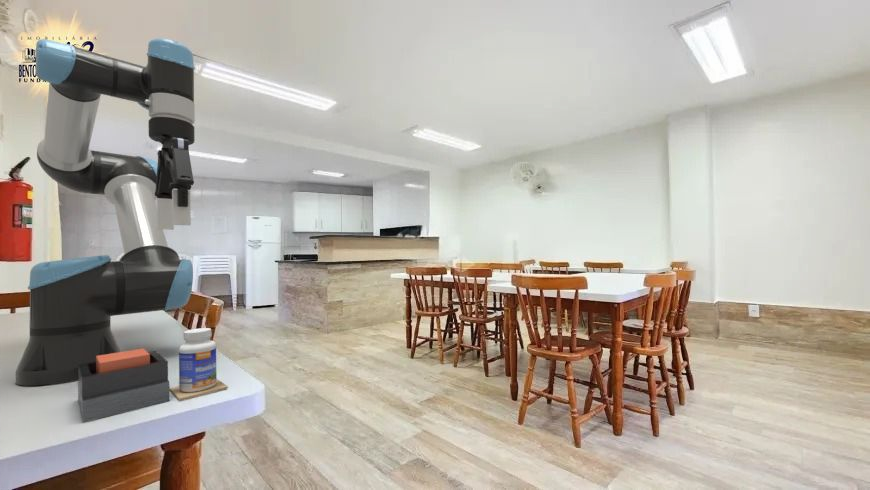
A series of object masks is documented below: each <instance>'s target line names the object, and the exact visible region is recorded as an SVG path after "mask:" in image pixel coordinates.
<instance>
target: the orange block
mask: <svg viewBox="0 0 870 490" xmlns="http://www.w3.org/2000/svg"><path fill="white" fill-rule="evenodd" d="M145 364H150V354H149V353H148V351H147V350H146V349H145V348H143V347H142V348H137V349H132V350H131V349H130V350H125V351H120V352H118V353H111V354H105V355H99V356H96V374H97V373H102V372H107V371H113V370H118V369H123V368H129V367H134V366H139V365H145Z"/></svg>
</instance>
